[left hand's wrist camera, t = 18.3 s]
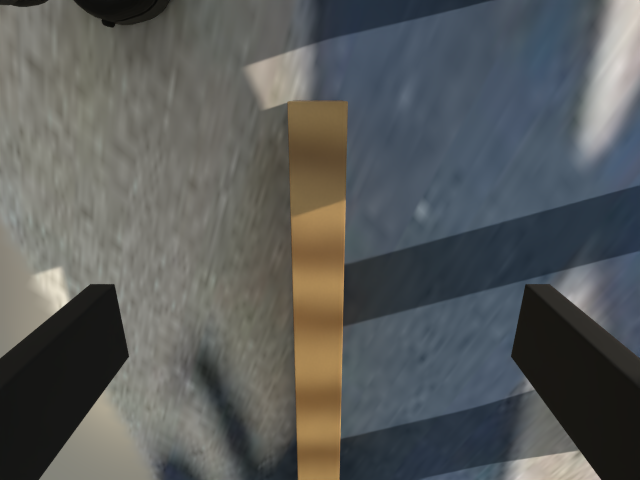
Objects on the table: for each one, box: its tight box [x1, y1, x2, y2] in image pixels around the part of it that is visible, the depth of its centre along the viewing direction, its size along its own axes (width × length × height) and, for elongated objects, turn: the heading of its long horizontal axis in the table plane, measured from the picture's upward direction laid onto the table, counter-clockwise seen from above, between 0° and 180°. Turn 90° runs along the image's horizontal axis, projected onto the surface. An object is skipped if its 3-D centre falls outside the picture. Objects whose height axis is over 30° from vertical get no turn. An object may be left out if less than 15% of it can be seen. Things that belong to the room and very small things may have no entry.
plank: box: [288, 101, 348, 480], centre depth 50 cm, size 65×5×8 cm, turn 0°
